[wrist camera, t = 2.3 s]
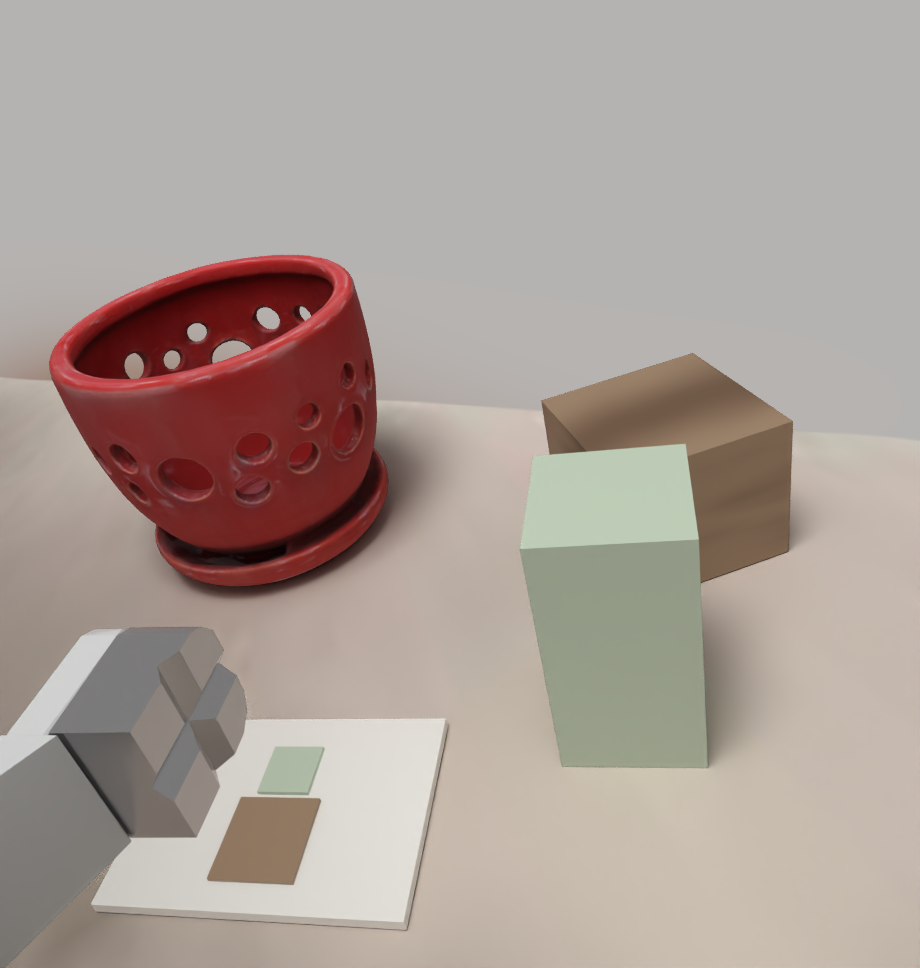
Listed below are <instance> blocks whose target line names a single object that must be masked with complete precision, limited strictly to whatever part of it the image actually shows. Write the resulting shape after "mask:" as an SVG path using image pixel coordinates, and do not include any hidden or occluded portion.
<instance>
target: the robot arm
mask: <svg viewBox="0 0 920 968" xmlns="http://www.w3.org/2000/svg"><path fill="white" fill-rule="evenodd" d="M223 651H224V649H223V647H222V646H221V644H220V642H219V640H218V638H217V637H216V635H215V633H214V631H213V630H211V629H207V628H203V627H153V628H129V629H94V630H92V631H90V632H88V633H86V634H84V635H82V636H81V637H80V638H79V640H78V641H77V642H76V644H75V645H74V646H73V648H72V649H71V650H70V652H69V653H68V654H67V656H66V657H65V658H64V659H63V661H62V662H61V663H60V665H59V666H58V667H57V669H56V670H55V671H54V673H53V674H52V675H51V677H50V678H49V679H48V681H47V682H46V683H45V685H44V686H43V687H42V689H41V690H40V691H39V692H38V694H37V695H36V696H35V698H34V699H33V700H32V702H31V703H30V704H29V706H28V707H27V708H26V710H25V711H24V712H23V714H22V715H21V716H20V718H19V719H18V720H17V721H16V723H15V724H14V725H13V727H12V728H11V729H10V731H9V732H8V733H7V735H0V968H5V967H6V966H7V965H8V964H9V963H10V962H11V961H12V960H13V959H14V958H15V957H16V956H17V955H18V954H19V953H20V952H21V951H22V950H23V949H24V948H25V947H26V946H27V945H28V944H29V943H30V942H31V941H32V940H33V939H34V938H35V937H36V936H37V935H38V934H39V933H40V932H41V931H42V930H43V929H44V928H45V927H46V926H47V925H48V924H49V923H50V922H51V921H53V920H54V919H55V918H56V917H57V916H58V915H59V914H60V913H61V912H62V911H63V910H64V909H65V908H66V907H67V906H68V905H69V904H70V903H71V902H72V901H73V900H74V899H75V898H76V897H77V896H78V895H79V894H80V893H81V892H82V891H83V890H84V889H85V888H86V887H87V886H88V885H89V884H90V883H91V882H92V881H93V880H94V879H95V878H96V877H97V876H98V875H99V874H100V873H101V872H102V871H103V870H104V869H105V868H106V867H107V866H108V865H109V864H110V863H111V862H112V861H113V860H114V859H115V858H116V857H117V856H118V855H119V854H120V853H121V852H122V851H123V850H124V849H125V848H126V847H127V846H128V845H129V844H130V843H131V839H130V838H197V836H198V833H199V831H200V829H201V827H202V825H203V823H204V820H205V818H206V816H207V814H208V812H209V810H210V808H211V805H212V803H213V801H214V799H215V797H216V795H217V792H218V790H219V788H220V784H219V780H218V776H217V772H216V770H217V769H218V768H219V767H220V766H221V765H223V764H224V763H225V762H226V761H227V760H228V759H230V758H231V757H232V756H233V755H234V754H235V753H236V751H237V748H238V746H239V744H240V741H241V739H242V737H243V734H244V729H245V721H246V713H247V706H246V700H245V694H244V690H243V688H242V686H241V684H240V682H239V679H238V677H237V676H236V675H235V674H233V673H232V672H231V671H229V670H228V669H226V668H225V667H224V666H222V665H221V664H220V663H219V661H220V659H221V656H222V653H223Z"/></svg>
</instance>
